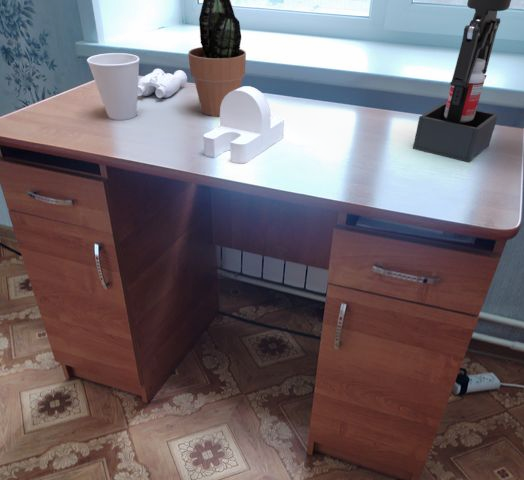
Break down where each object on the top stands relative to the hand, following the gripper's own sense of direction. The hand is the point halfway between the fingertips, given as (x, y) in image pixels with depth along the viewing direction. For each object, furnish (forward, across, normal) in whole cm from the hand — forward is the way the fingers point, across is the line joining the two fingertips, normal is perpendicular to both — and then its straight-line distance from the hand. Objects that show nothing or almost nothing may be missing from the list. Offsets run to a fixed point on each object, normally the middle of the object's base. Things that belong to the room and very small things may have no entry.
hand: (459, 116), depth 107 cm
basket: (+6, 0, 0) cm, 6 cm away
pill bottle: (+1, 0, 0) cm, 1 cm away
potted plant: (+7, +13, -56) cm, 58 cm away
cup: (+7, +31, -72) cm, 79 cm away
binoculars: (+7, +11, -79) cm, 80 cm away
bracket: (+7, +28, -36) cm, 46 cm away
